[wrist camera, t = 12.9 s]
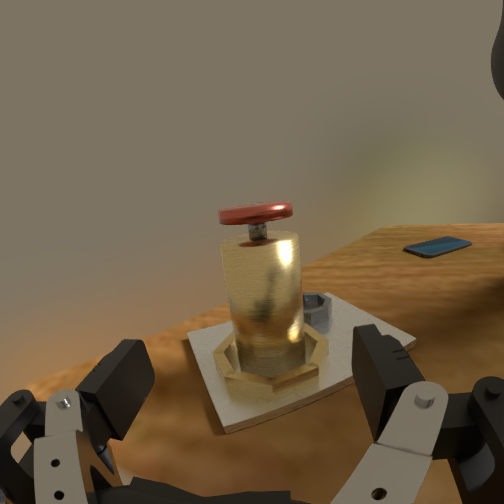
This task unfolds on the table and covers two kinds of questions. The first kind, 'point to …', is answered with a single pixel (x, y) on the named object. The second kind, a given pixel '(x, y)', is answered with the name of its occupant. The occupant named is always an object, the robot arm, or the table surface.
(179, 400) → the table surface
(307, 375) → the fitting plate
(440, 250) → the smartphone
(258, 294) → the brass valve
